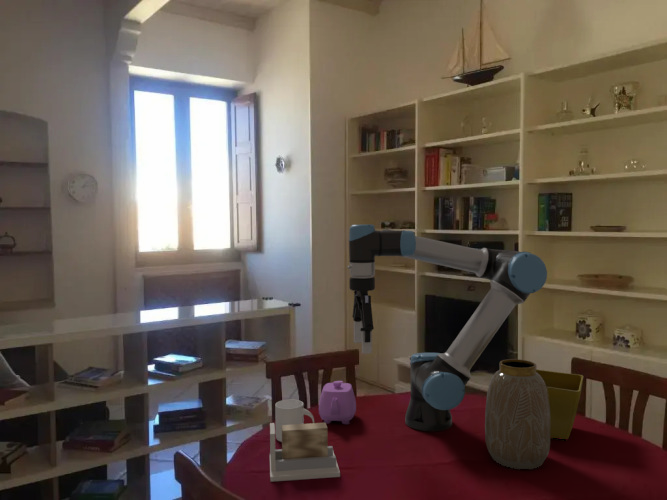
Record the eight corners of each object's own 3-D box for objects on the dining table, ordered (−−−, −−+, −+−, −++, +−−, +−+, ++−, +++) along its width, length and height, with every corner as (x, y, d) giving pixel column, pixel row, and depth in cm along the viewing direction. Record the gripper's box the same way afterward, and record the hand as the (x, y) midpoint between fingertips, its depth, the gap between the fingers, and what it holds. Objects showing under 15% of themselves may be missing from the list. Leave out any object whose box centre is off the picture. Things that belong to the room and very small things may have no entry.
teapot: (322, 408, 195) (322, 373, 194) (357, 409, 194) (357, 374, 193) (314, 430, 175) (314, 390, 175) (353, 431, 174) (353, 391, 173)
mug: (311, 445, 164) (311, 409, 163) (272, 442, 166) (271, 407, 165) (317, 434, 172) (316, 400, 171) (279, 432, 174) (279, 398, 173)
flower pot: (582, 425, 177) (583, 374, 176) (578, 447, 160) (579, 390, 159) (521, 416, 186) (521, 367, 185) (511, 436, 169) (511, 382, 168)
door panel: (325, 457, 152) (325, 422, 151) (327, 464, 148) (327, 428, 147) (282, 461, 150) (281, 425, 150) (283, 467, 146) (282, 430, 146)
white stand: (333, 454, 157) (332, 415, 157) (340, 476, 143) (339, 434, 143) (269, 458, 155) (269, 419, 154) (270, 481, 141) (269, 438, 140)
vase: (548, 451, 158) (550, 358, 157) (551, 477, 142) (553, 374, 140) (486, 443, 164) (487, 353, 162) (482, 468, 147) (483, 369, 146)
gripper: (343, 272, 174) (343, 339, 176) (356, 281, 150) (357, 358, 151) (366, 272, 175) (366, 338, 177) (383, 280, 151) (384, 357, 152)
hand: (362, 347), depth 164 cm, fingers open, 13 cm apart
